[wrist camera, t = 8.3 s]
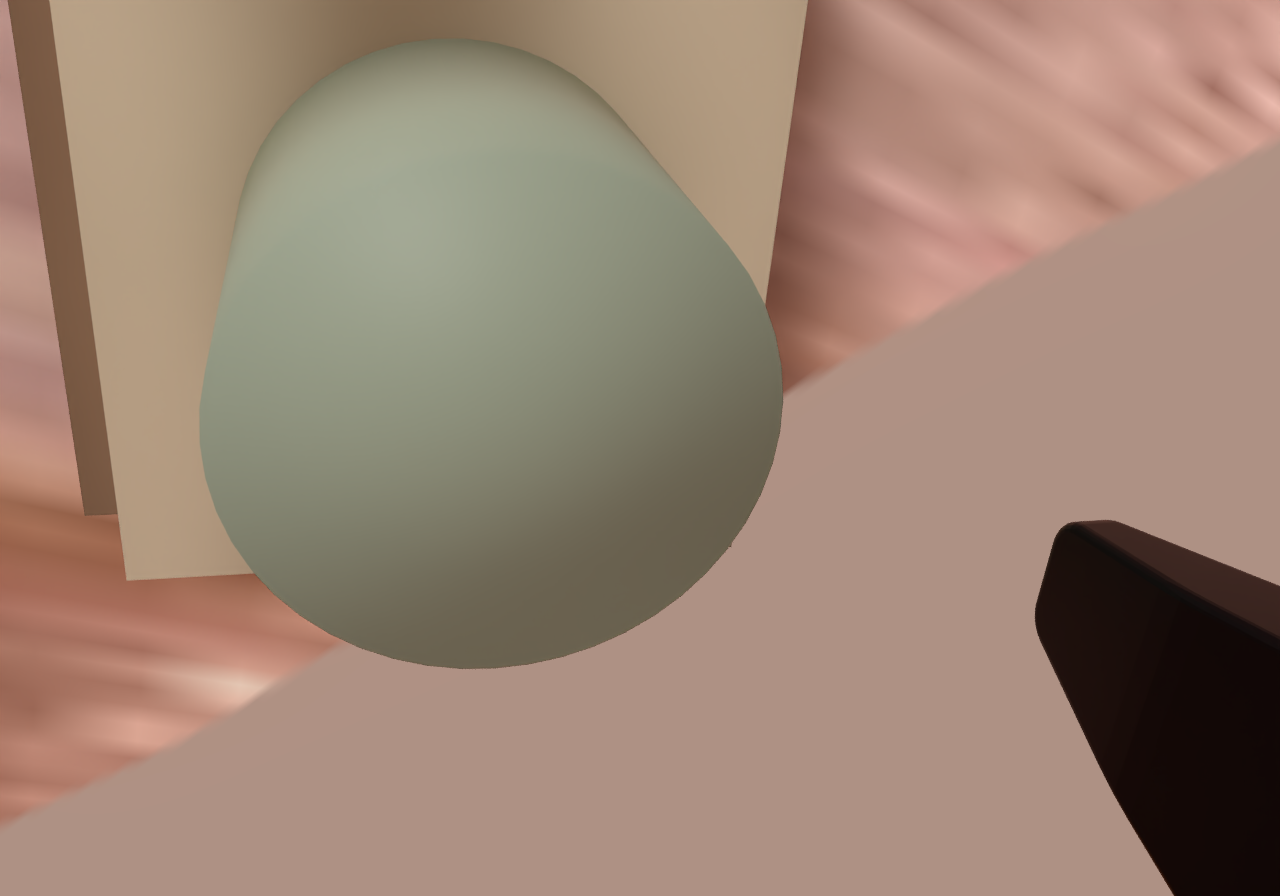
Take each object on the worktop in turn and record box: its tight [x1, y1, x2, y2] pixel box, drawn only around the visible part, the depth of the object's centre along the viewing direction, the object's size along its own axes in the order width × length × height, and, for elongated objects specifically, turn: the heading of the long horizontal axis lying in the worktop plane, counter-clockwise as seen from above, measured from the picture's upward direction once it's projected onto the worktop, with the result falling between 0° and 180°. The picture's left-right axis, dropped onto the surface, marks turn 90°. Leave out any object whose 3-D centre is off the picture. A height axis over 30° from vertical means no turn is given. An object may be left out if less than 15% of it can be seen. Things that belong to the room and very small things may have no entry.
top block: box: [49, 0, 808, 580], centre depth 16 cm, size 8×8×3 cm
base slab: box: [8, 0, 118, 516], centre depth 18 cm, size 10×10×3 cm
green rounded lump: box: [199, 39, 783, 669], centre depth 12 cm, size 5×5×4 cm
